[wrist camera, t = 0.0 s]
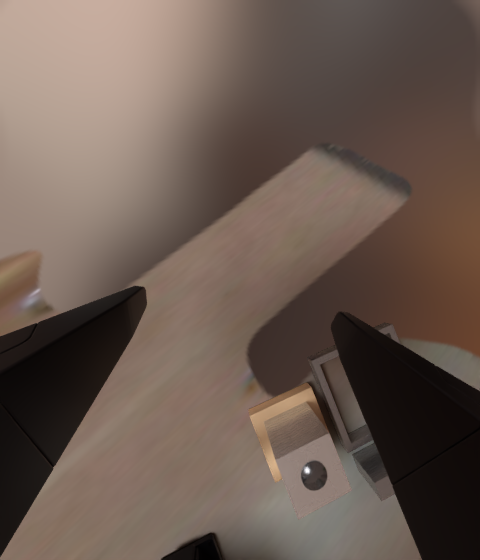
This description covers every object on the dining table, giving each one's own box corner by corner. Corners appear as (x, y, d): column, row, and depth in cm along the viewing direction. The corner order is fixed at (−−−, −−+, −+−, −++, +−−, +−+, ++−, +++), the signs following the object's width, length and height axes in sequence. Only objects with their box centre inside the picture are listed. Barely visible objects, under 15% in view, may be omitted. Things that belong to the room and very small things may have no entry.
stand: (330, 442, 23) (336, 451, 22) (272, 472, 23) (275, 482, 21) (306, 382, 24) (311, 387, 22) (248, 409, 23) (249, 416, 22)
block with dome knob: (323, 445, 22) (352, 491, 17) (281, 467, 22) (298, 520, 17) (305, 401, 22) (329, 433, 17) (263, 421, 22) (275, 461, 17)
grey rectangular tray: (431, 437, 25) (484, 474, 20) (355, 479, 23) (390, 529, 18) (384, 322, 25) (424, 330, 20) (307, 357, 24) (328, 374, 19)
